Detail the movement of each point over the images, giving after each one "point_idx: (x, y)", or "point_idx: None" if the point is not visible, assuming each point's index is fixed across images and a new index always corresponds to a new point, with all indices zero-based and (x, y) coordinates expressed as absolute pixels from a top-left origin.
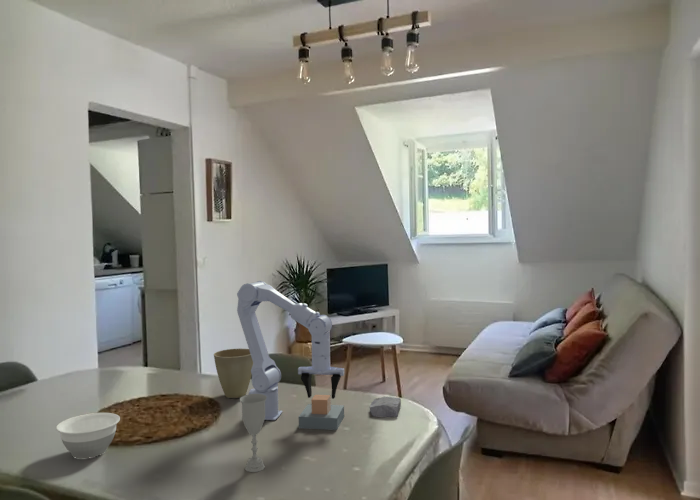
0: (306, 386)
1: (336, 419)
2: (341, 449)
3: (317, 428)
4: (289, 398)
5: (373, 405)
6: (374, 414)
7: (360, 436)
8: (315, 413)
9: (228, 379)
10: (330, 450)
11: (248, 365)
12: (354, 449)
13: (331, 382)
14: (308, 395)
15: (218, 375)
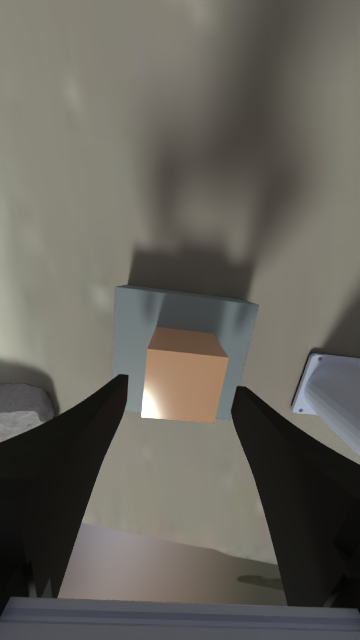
0: (291, 429)
1: (118, 286)
2: (86, 99)
3: (187, 292)
4: None
5: (27, 425)
6: (34, 390)
7: (45, 228)
8: (199, 332)
9: None
10: (123, 89)
11: None
12: (40, 98)
13: (71, 444)
14: (248, 391)
15: None
